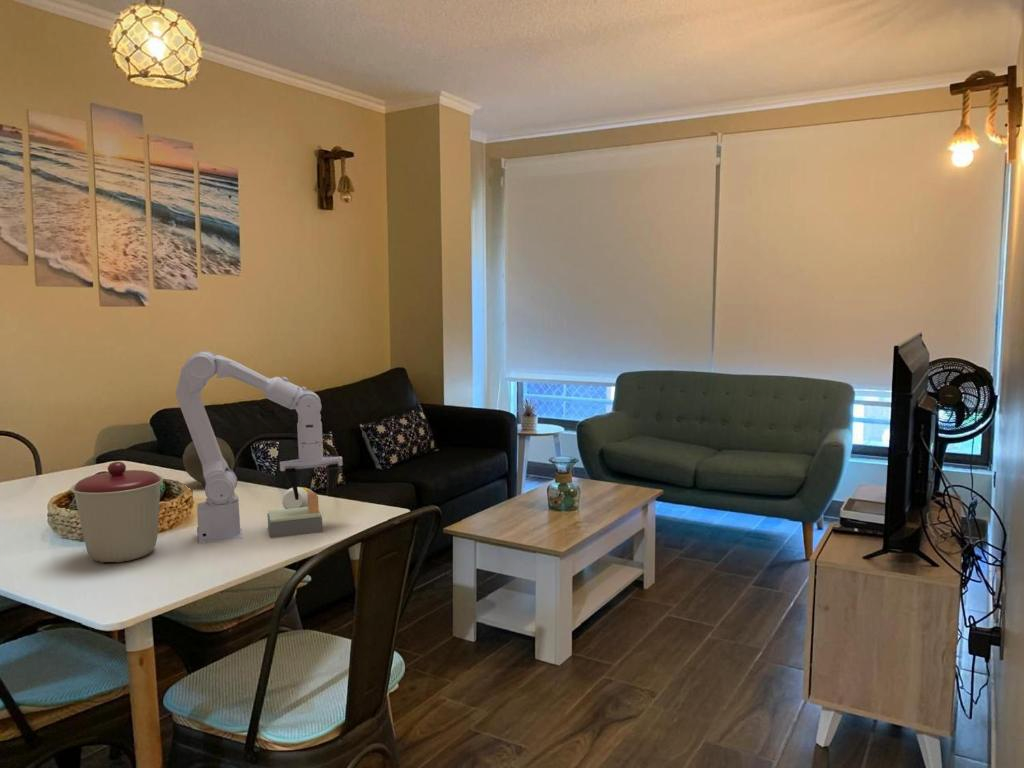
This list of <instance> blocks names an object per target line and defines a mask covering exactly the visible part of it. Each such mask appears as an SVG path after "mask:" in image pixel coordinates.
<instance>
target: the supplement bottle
mask: <svg viewBox="0 0 1024 768" xmlns="http://www.w3.org/2000/svg"><path fill="white" fill-rule="evenodd" d="M297 489H298V497H299V500H295V495H294V491H293V487H291V488H289V489H287V490H286V491H285V492H284V494H283V496H282V505H283V508H284V509H291V508H301V507H308V497H307V493H314V491H313V490H311V489H310V488H307V487H302V486H297Z"/></svg>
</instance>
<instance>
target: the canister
mask: <svg viewBox="0 0 1024 768" xmlns="http://www.w3.org/2000/svg"><path fill="white" fill-rule="evenodd" d="M163 481H164V477H163V476H162V475H158V474H157V473H155V472H154V471H149V470H140V469H138V470H137V469H128V470H127V467H126V464H125V463H124V462H122V461H113V462H111V463H109V465H108V466H107V472H102V473H96V474H93V475H90V476H87V477H84V478H82V479H80V480H79V481H77V482H76V483H75V484H73V485H72V486H71V487H70V492H71V493H73V495H74V498H75V499H74V500H75V504H76V508H77V513H78V517H79V521H80V528H81V532H82V536H83V540H84V544H85V548H86V552H87V553H88V555H89V557H90V558H91V559H92V560H93V561H95V560H96V561H95V562H98V561H99V563H104V562H116V563H122V562H123V563H125V562H129V561H133V560H136V559H140V558H142V557H145V556H146V555H149V554H150V553H151V552H153V550H154V549H155V547H156V545H157V541H158V531H159V520H160V519H159V518H160V517H159V516H160V500H161V499H160V497H161V484H162V483H163ZM124 561H125V562H124Z"/></svg>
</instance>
